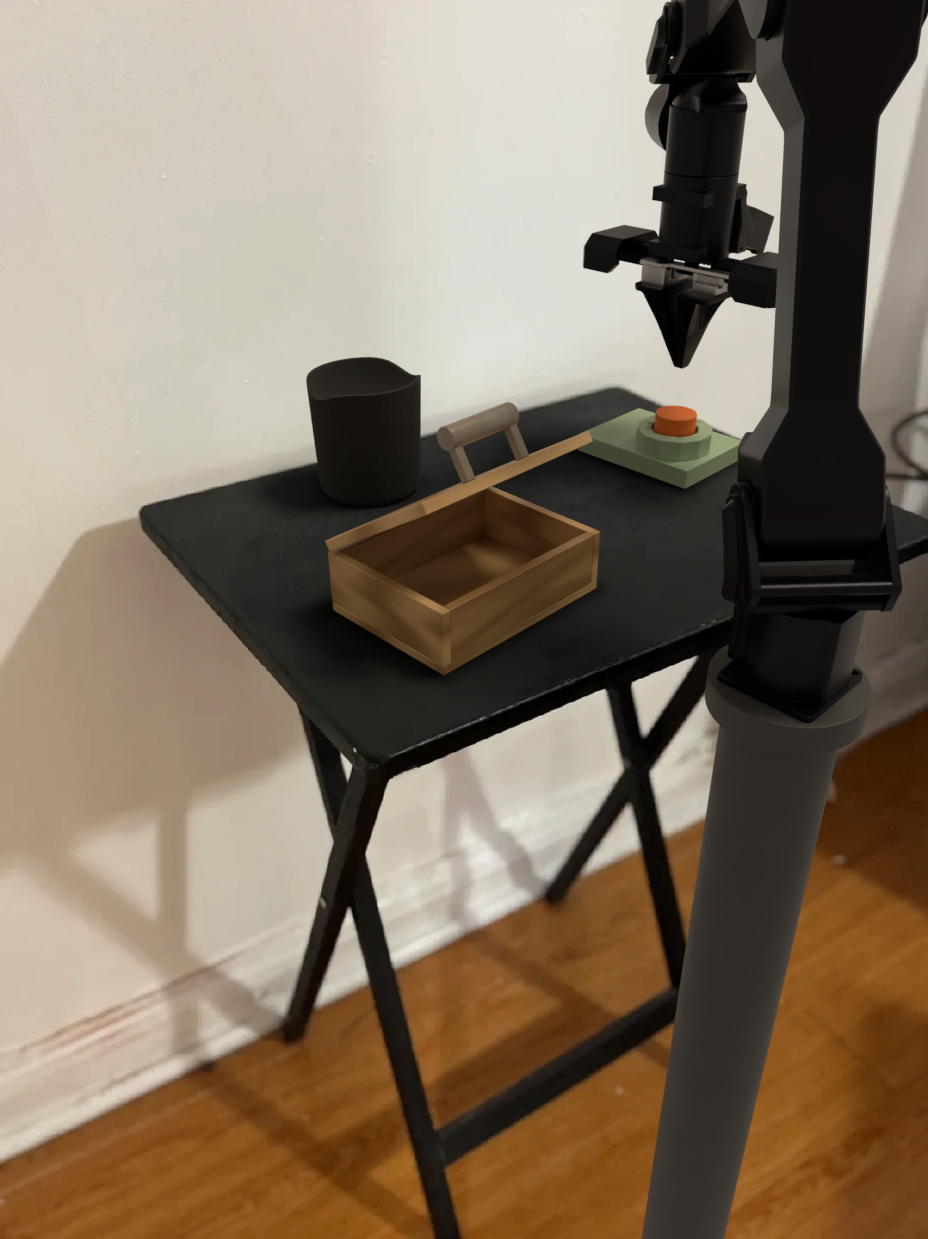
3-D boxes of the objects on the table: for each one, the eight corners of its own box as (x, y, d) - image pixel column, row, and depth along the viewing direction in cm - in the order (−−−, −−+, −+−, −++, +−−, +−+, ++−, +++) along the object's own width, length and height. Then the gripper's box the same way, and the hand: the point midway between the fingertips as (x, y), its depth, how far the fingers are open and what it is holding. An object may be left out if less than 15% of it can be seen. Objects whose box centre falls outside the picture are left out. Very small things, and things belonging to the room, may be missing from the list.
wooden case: (596, 588, 76) (600, 531, 74) (443, 676, 67) (442, 614, 64) (485, 537, 83) (485, 483, 80) (332, 610, 74) (327, 552, 71)
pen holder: (429, 465, 95) (426, 357, 89) (418, 511, 87) (414, 396, 82) (327, 463, 95) (317, 356, 90) (307, 509, 88) (295, 395, 82)
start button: (703, 431, 93) (705, 412, 92) (679, 442, 91) (681, 423, 90) (669, 420, 95) (671, 402, 94) (645, 431, 93) (647, 412, 92)
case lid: (593, 441, 71) (568, 377, 70) (426, 515, 62) (396, 442, 61) (486, 482, 80) (464, 426, 80) (329, 551, 71) (302, 489, 71)
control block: (742, 458, 95) (748, 422, 93) (685, 489, 90) (689, 451, 88) (637, 424, 103) (640, 390, 101) (578, 450, 97) (579, 415, 95)
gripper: (863, 172, 80) (828, 369, 89) (665, 147, 92) (650, 324, 100) (787, 192, 74) (756, 403, 82) (583, 163, 85) (574, 351, 93)
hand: (681, 366), depth 90 cm, fingers closed
